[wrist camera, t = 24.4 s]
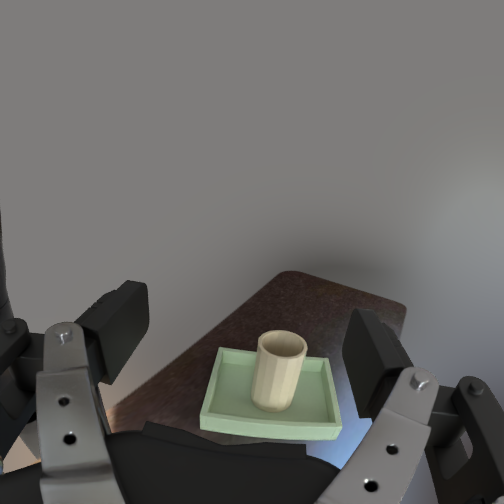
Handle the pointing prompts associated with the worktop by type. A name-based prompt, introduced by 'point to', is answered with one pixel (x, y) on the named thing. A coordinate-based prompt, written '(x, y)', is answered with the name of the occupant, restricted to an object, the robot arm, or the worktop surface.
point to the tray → (266, 423)
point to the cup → (277, 370)
